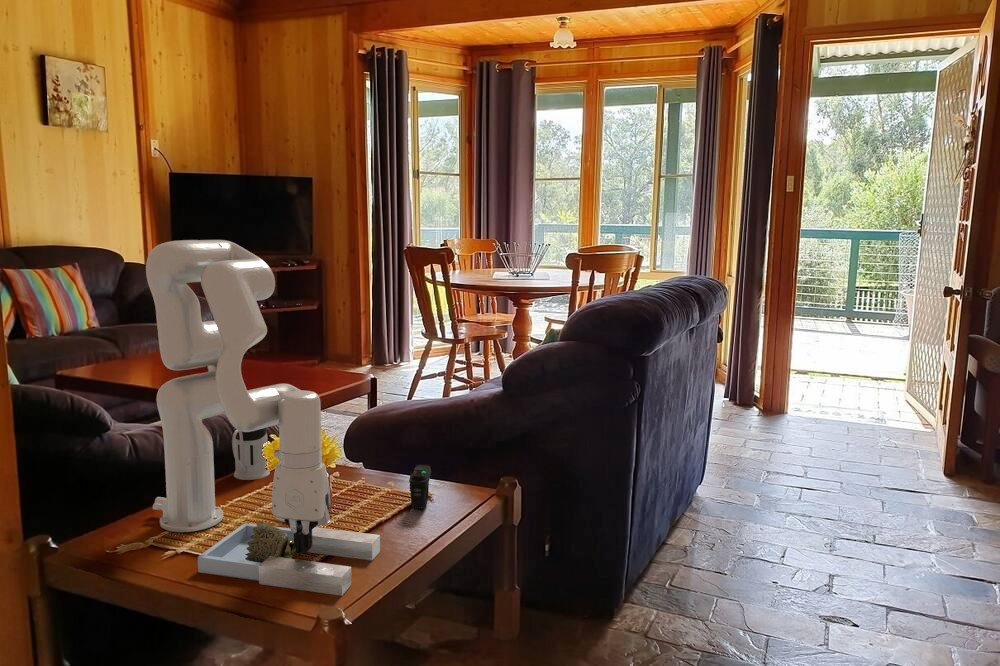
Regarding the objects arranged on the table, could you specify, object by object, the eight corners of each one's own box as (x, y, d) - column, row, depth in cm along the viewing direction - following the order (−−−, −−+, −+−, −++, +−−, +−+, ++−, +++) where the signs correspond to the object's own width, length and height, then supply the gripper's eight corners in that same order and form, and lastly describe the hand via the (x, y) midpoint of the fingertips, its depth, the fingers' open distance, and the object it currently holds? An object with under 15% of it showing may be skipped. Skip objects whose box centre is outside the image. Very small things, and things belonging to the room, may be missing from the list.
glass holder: (275, 469, 195) (274, 412, 193) (252, 488, 181) (250, 428, 179) (242, 467, 196) (241, 411, 193) (217, 486, 182) (215, 426, 179)
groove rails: (259, 583, 136) (258, 565, 135) (305, 542, 153) (305, 525, 152) (342, 595, 132) (341, 577, 132) (380, 551, 150) (380, 535, 149)
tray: (198, 572, 139) (197, 557, 139) (245, 536, 155) (244, 522, 154) (262, 581, 137) (261, 565, 136) (303, 544, 152) (303, 530, 152)
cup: (293, 565, 147) (254, 554, 147) (303, 528, 147) (264, 517, 148) (282, 575, 140) (241, 564, 140) (293, 536, 140) (251, 525, 140)
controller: (407, 515, 168) (407, 472, 166) (414, 494, 180) (414, 454, 178) (426, 516, 168) (427, 473, 166) (432, 495, 180) (432, 455, 178)
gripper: (253, 460, 138) (257, 555, 141) (329, 467, 135) (331, 564, 138) (274, 448, 145) (277, 538, 148) (346, 454, 142) (348, 546, 145)
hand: (303, 550), depth 143 cm, fingers closed
